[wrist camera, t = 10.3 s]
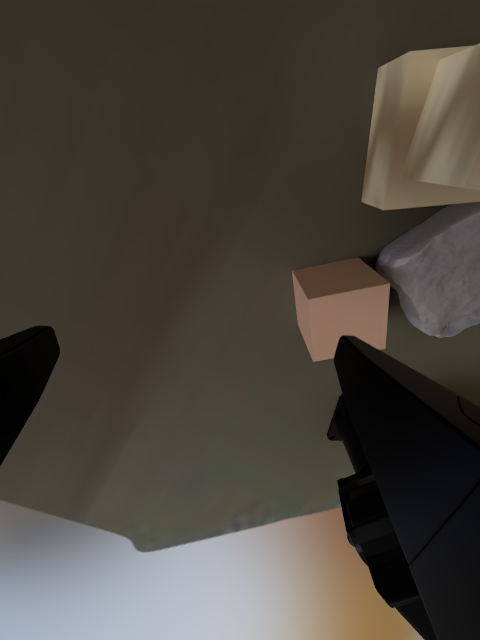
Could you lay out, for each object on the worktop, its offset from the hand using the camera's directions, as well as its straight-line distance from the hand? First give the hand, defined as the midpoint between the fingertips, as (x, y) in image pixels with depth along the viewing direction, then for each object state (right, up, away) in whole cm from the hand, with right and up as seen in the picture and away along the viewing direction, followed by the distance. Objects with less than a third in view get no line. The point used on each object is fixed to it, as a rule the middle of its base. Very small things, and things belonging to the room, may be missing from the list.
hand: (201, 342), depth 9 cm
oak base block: (+13, +12, +9) cm, 20 cm away
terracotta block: (+8, +3, +14) cm, 16 cm away
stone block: (+18, +6, +13) cm, 23 cm away
